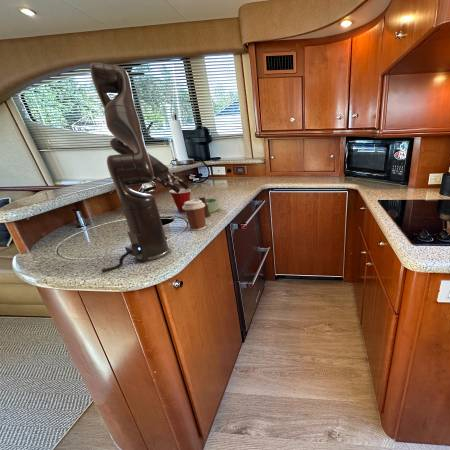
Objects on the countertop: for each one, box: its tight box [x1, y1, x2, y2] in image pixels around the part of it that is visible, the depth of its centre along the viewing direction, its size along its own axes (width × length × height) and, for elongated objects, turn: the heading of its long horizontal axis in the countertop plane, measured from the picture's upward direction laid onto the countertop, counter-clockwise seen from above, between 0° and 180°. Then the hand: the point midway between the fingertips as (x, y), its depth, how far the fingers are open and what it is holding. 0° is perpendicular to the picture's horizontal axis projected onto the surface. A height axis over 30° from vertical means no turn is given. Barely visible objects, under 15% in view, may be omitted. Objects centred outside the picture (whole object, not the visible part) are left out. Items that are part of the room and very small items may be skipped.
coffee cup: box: [182, 199, 207, 232], centre depth 103 cm, size 9×9×12 cm
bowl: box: [205, 197, 220, 214], centre depth 130 cm, size 13×13×6 cm
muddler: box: [198, 196, 211, 218], centre depth 119 cm, size 4×4×10 cm
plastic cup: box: [168, 188, 192, 213], centre depth 131 cm, size 11×11×12 cm
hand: (183, 189), depth 117 cm, fingers open, 8 cm apart
